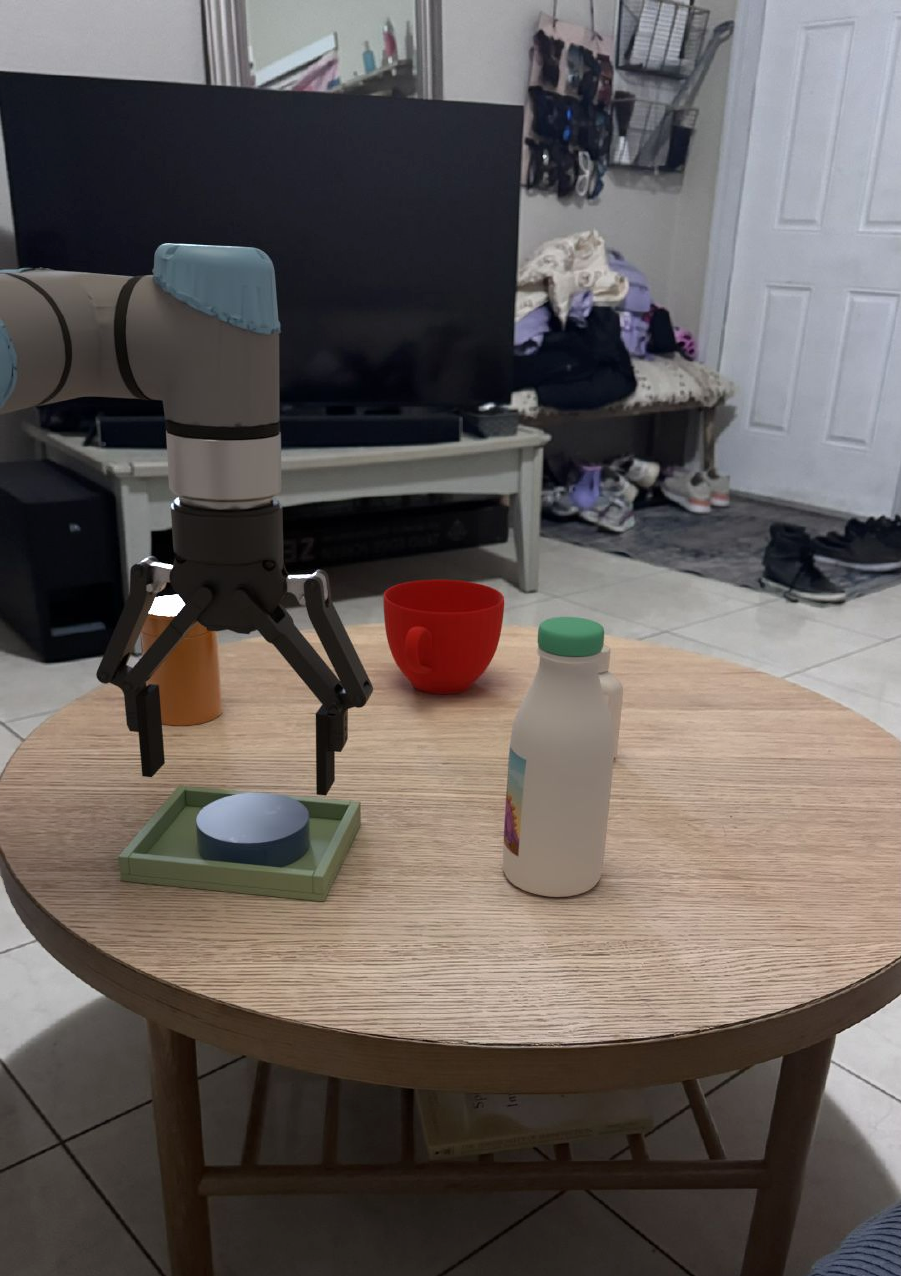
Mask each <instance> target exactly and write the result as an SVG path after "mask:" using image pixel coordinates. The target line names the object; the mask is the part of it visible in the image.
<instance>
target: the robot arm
mask: <svg viewBox="0 0 901 1276" xmlns="http://www.w3.org/2000/svg"><path fill="white" fill-rule="evenodd" d="M153 258H154V259H153V261H154V262H153V268H152V270H151V272H152V274H148V275H136V276H131V275H130V276H129V275H117V274H107V273H106V274H105V273H93V272H83V271H70V270H69V271H67V270H54V269H53V268H44V267H40V266H39V267H36V268H34V267H22V268H18V269H0V415H4V414H8V413H11V412H12V413H13V412H16V411H19V410H24V409H29V408H34V407H41V406H46V405H51V404H55V403H59V402H63V401H64V402H65V401H69V400H74V399H78V398H83V397H86V398H87V397H88V398H89V397H94V398H95V397H98V398H116V399H134V400H135V399H136V400H142V401H162V406H163V413H164V422H165V423H164V425H165V437H166V456H167V476H168V489H169V490H170V492H171V493H173V494H174V495H175V496H178V497H176V498H174V500H173V502H172V503H171V504H170V516H171V517H170V519H171V532H172V533H171V534H172V548H173V553H174V561H173V564H168V563H163V562H160V561H159V560H158V558H157V557H156V556H153V555H148V556H145V557H144V558H143V559H140V560H139V561H137V562H136V563H134V564H133V565H132V566H131V567H130V570H129V594H128V596H127V599H126V601H125V604H124V606H123V609H122V611H121V613H120V615H119V618H118V620H117V623H116V625H115V628H114V630H113V632H112V634H111V637H110V639H109V642H108V644H107V645H106V649H105V651H104V653H103V655H102V658H101V660H100V663H99V665H98V668H97V670H96V674H95V676H96V679H97V680H98V682H100V683H101V684H105V685H107V684H111V685H114V686H115V687H117V688H119V689H120V690H121V691H122V693H123V697H124V709H125V720H126V726H127V728H128V730H129V732H133V733H138V743H139V753H140V755H139V756H140V763H141V764H140V765H141V776H142V777H145V778H153V777H154V776H155V774H156V773H157V772H158V771H160V769H161V768H162V767H163V766H164V765H165V763H166V760H165V759H166V758H165V747H164V734H163V724H162V719H161V706H160V692H159V685H154V684H149V685H148V686H146V682H147V681H148V680H149V679H150V678H151V676H152V675H153V674H154V672H155V671H156V670H157V669H158V668H159V666H160V665H161V664H162V663H163V662H164V661H165V659H166V658H167V657H168V656H169V655H170V654H171V652H172V651H173V650H174V649H175V648H176V647H177V645H178V644H179V643H180V642H181V641H182V639H183V638H184V637H185V636H186V635H187V634H188V632H189V631H190V630H191V629H192V628H193V627H194V625H195V624H196V623H197V622H199V623H200V624H201V625H203V626H204V627H206V628H207V631H217V632H222V631H231V632H233V633H236V634H243V635H250V634H251V633H253V632H255V631H258V633H259V634H260V635H261V636H262V638H263V639H264V640H265V641H266V642H267V643H269V644H271V645H273V646H274V648H275V649H276V650H277V651H278V653H280V655H281V656H282V657H283V658H284V660H285V661H286V662H287V663H288V665H289V666H290V667H291V668H292V669H293V671H294V672H295V673H296V674H297V676H299V678H300V679H301V680H302V681H303V683H304V684H305V685H306V687H307V688H308V689H309V690H310V691H311V692H312V694H313V695H314V696H315V698H317V700H318V701H319V702H320V704H321V705H320V707H319V708H318V709H317V711H316V712H315V778H316V779H315V780H316V781H315V782H316V783H315V784H316V785H315V786H316V789H315V790H316V791H315V793H316V796H323V797H324V796H327V795H328V793H329V792H330V790H331V788H332V786H333V784H334V783H335V781H336V779H335V778H336V772H335V770H336V765H335V764H336V763H335V761H336V758H335V757H336V753H341V752H342V751H343V749H345V745H346V744H347V742H348V740H349V709H352V708H358V709H360V708H363V707H365V705H366V704H367V702H368V701H369V700H370V697H371V696H372V694H373V692H374V686H373V683H372V681H371V680H370V677H369V675H368V673H367V671H366V669H365V667H364V665H363V663H362V661H361V659H360V657H359V654H358V652H357V650H356V648H355V647H354V644H353V642H352V640H351V637H350V636H349V634H348V632H347V630H346V628H345V625H344V624H343V621H342V619H341V617H340V615H339V613H338V611H337V609H336V607H335V605H334V603H333V600H332V593H331V583H330V578H329V574H328V573H327V571H325V570H324V569H316V570H315V571H314V572H312V573H311V574H289V573H288V571H287V569H286V565H285V562H284V521H283V517H284V515H283V513H284V512H283V505H282V503H280V500H278V499H277V498H276V496H278V495H279V494H280V493H281V492H282V489H283V487H282V432H281V421H280V334H281V333H282V331H281V322H280V320H279V310H278V298H277V285H276V273H275V267H274V263H273V261H272V259H271V258H270V257H269V255H268V254H267V253H265V251H263V250H261V249H259V248H257V247H249V246H248V247H247V246H230V245H206V244H205V245H204V244H192V243H191V244H190V243H189V244H188V243H162V244H161V245H159V246H158V247H157V249H156V250H155V252H154V257H153ZM167 583H170V586H171V587H172V589H173V590H174V592H175V593H176V595H179V597H180V598H181V600H182V601H183V602H184V604H185V605H184V606H183V607H182V609H181V610H180V611H179V612H178V613H177V615H176V616H175V617H174V618H173V619H172V621H171V622H170V624H169V625H168V626H167V628H166V629H165V630H164V631H163V632H162V634H161V635H160V636H159V637H158V638H157V640H156V641H155V642H154V643H153V644H152V646H151V647H150V648H149V649H148V650H147V651H146V653H145V654H144V655H143V656H142V655H141V657H140V658H139V660H138V661H137V662H136V663H135V664H134V666H133V667H132V666H131V665H128V662H129V660H130V658H131V655H132V654H133V651H134V649H135V647H136V645H137V642H138V640H139V637H140V633H141V630H142V628H143V626H144V623H145V621H146V619H147V616H148V614H149V612H150V610H151V607H152V605H153V603H154V600H155V598H156V597H157V595H158V593H160V592H162V591H164V590H165V588H166V586H167ZM289 593H290V594H292V595H294V597H295V599H296V600H297V603H298V604H299V605H300V606H301V607H305V608H306V612H307V617H308V618H309V620H310V623H311V625H312V627H313V629H314V631H315V633H316V635H317V637H318V639H319V642H320V644H321V645H322V647H323V649H324V651H325V653H326V656H327V657H328V659H329V661H330V663H331V665H332V667H333V669H334V671H335V672H333V670H332V669H331V668H330V667H329V665H328V664H327V663H326V661H325V660H323V658H322V657H321V655H320V654H319V653H318V652H317V651H316V650H315V648H314V647H313V646H312V645H311V643H310V642H309V640H307V638H306V637H305V635H303V634H302V632H301V631H300V630H299V629H298V627H297V626H296V624H295V622H294V619H293V616H291V615H290V613H289V612H288V611H287V610H286V608H285V607H284V606H283V605H282V602H283V600H284V599H285V598H286V597H287V595H288V594H289ZM335 673H336V674H335Z"/></svg>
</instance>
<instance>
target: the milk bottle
mask: <svg viewBox="0 0 901 1276" xmlns="http://www.w3.org/2000/svg"><path fill="white" fill-rule="evenodd" d="M603 643H604V644H605V629H604V626H603V625H601V624H600V623H599V622H597V621H595V620H592V619H588V618H584V617H579V616H578V617H577V616H557V617H550V618H547V619H545V620H542V621H541V622H540V623H539V626H538V630H537V649H536V654H537V655H538V656H539V660H538V661H539V662H538V667H537V670H536V672H535V676H534V678H533V681H532V683H531V685H530V686H529V689H528V691H527V693H526V694H525V696H524V697H523V699H522V701H521V702H520V705H519V707H518V710H517V712H516V715H515V716H514V717H515V718H514V720H513V724H512V729H511V734H510V743H509V750H508V751H509V752H508V761H507V762H508V764H507V775H506V776H507V777H506V793H505V806H504V807H505V809H504V826H503V842H502V870H503V872H504V875H505V877H506V879H507V880H508V881H509V882H510V883H512V885H514V886H515V887H517V888H519V889H520V890H522V891H525V892H528V893H530V894H535V895H537V896H544V897H551V898H552V897H555V898H561V897H572V896H578V895H581V894H584V893H586V892H588V891H590V890H592V889H593V888H594V887H595V886H596V885H597V883H598V882H599V881H600V880H601V878H602V873H603V867H604V861H605V850H606V841H607V832H608V821H609V814H610V812H609V811H610V803H611V792H612V791H611V790H612V782H613V770H614V759H615V758H614V728H613V722H612V717H611V714H610V711H609V708H608V705H607V702H606V700H605V697H604V694H603V691H602V688H601V684H600V679H599V673H598V661H599V660H600V659H601V658H602V648H603Z"/></svg>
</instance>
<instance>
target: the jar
mask: <svg viewBox="0 0 901 1276" xmlns="http://www.w3.org/2000/svg"><path fill="white" fill-rule="evenodd" d="M184 605H185V604H184V602H183V601H182V600H181V598H180V597H179V595H178V594H172V595H171V594H170V595H163V596H156V598H155V600H154V603H153V605H152V607H151V610H150V612H149V614H148V616H147V619H146V621H145V623H144V626H143V628H142V630H141V633H140V635H139V637H140V647H141V657H142V656H143V655H144V654H145V653H146V651H147V650H148V649H149V648H150V647H151V646H152V644H153V643H154V642H155V641H156V640H157V638H158V637H159V636H160V635H161V634H162V632H163V631H164V630H165V629H166V628H167V626H168V625H169V624H170V622H171V621H172V619H173V618H174V617H175V616H176V615H177V613H178V612H179V611H180V610H181V609H182V607H183V606H184ZM218 637H219V635H218V631H207V628H206V627H204V626H203V625H201V624H200V623H199V622H197V623H196V624H195V625H194V627H193V628H192V629H191V630H190V631H189V632H188V634H187V635H186V636H185V637H184V638H183V639H182V641H181V642H180V643H179V644H178V645H177V647H176V648H175V649H174V650H173V651H172V652H171V654H170V655H169V656H168V657H167V658H166V659H165V661H164V662H163V663H162V664H161V665H160V666H159V668H158V669H157V670H156V671H155V672H154V674H153V675H152V676H151V678H150V679H149V680H148V681H147V682H146V686H148V685H149V684H154V685H159V692H160V706H161V719H162V725H167V726H174V727H175V726H176V727H177V726H179V727H183V726H194V725H200V724H205V723H208V722H211V721H213V720H215V719H216V718H219V717H220V715H221V714H222V713H223V701H222V700H223V699H222V698H223V697H222V686H221V685H222V684H221V682H222V681H221V669H220V655H219V639H218Z"/></svg>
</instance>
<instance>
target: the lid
mask: <svg viewBox="0 0 901 1276" xmlns="http://www.w3.org/2000/svg"><path fill="white" fill-rule="evenodd" d="M279 794H280V793H279ZM279 794H277V793H272V792H258V793H244V794H237V795H232V796H228V797H224V798H221V799H218V800H216V801H214V802H211V803H210V804H208V805H206V806H205V807H204V808H202V809H201V811H200V812H199V813H198V815H197V817H196V831H197V843H198V852H199V854H200V856H201V857H202V858H203V859H204V860H210V861H220V862H230V863H240V864H250V865H260V866H270V867H280V868H281V867H284V866H287V865H289V864H292V863H294V862H295V861H297V860H299V859H300V858H301V857H303V856H304V855H305V854H306V852H307V851H308V849H309V846H310V824H309V812H308V810H307V808H306V807H305V806H304V805H303V804H302V803H300V802H299V801H297V800H295V799H293V798H290V797H287V796H283V795H284V794H280V795H279Z"/></svg>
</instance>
